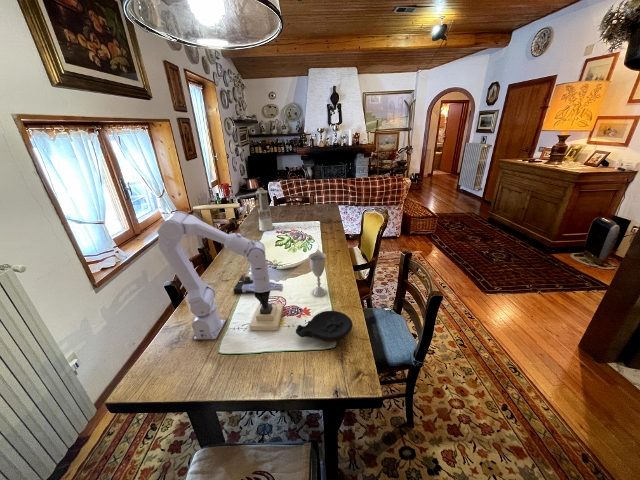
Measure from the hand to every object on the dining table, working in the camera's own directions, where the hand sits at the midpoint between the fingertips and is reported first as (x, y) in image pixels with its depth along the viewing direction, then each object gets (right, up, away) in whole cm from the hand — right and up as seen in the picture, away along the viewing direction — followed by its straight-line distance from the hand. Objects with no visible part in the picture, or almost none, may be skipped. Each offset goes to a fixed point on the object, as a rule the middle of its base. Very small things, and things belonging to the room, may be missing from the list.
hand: (265, 306), depth 94 cm
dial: (-13, +6, +22) cm, 26 cm away
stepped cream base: (0, -5, +2) cm, 6 cm away
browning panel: (-13, +3, +23) cm, 27 cm away
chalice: (+20, +2, +16) cm, 26 cm away
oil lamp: (+22, -8, -6) cm, 24 cm away
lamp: (-19, +33, +90) cm, 97 cm away
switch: (0, -2, +1) cm, 2 cm away
